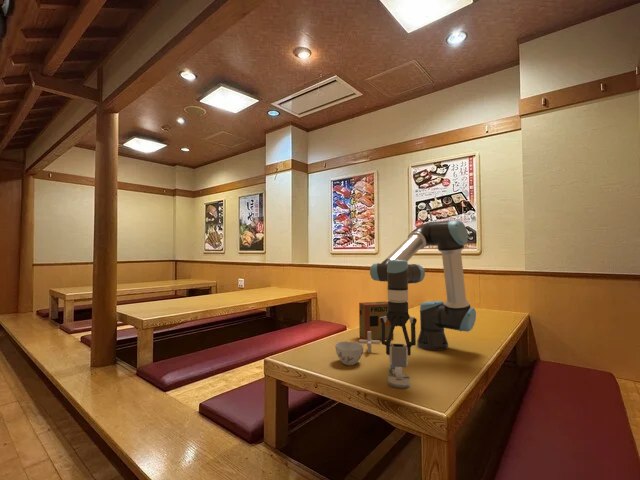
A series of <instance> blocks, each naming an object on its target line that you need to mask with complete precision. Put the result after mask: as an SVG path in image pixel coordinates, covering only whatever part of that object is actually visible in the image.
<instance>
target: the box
mask: <svg viewBox="0 0 640 480" xmlns="http://www.w3.org/2000/svg"><path fill="white" fill-rule="evenodd" d="M358 304H359V307H358V316H359V318H358V321H359V324H358V325H359V327H358V329H359V333H358V335H359V339H360V340H368V336H367V332H368V331H371V339H372V340H380V342H381V321H380V317H384V316H386V315H387V313H388V301H369V302H368V301H367V302H365V301H364V302H359V303H358ZM390 324H391V323H390V322H389V320H388V319H386V322H385V340H386V341H387V337H388V333H389V329H390ZM391 341H394V334H393V335H392V339H391Z"/></svg>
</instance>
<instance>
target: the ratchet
mask: <svg viewBox="0 0 640 480" xmlns="http://www.w3.org/2000/svg"><path fill="white" fill-rule="evenodd" d="M389 371H390V373H389V374H388V375H387V384H388V386H390V387H391V388H394V389H399V390H405V389H409V388H410V387H411V378H410V376H408V374H404V373H403V367H392V365H390V364H389Z"/></svg>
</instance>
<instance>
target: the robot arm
mask: <svg viewBox="0 0 640 480" xmlns="http://www.w3.org/2000/svg"><path fill="white" fill-rule="evenodd" d="M468 238H469V235H468V230H467V227H466V225H465V224H464V223H463V221H461V220H455V219H453V220H441V221H440V220H439V221H430V222H426V223H423V224H421V225H419V226H418V227H416V228H415V229H413V231H411V232H410V233H409V234H408V236H407V239H405V240H404V241H403V242H402V243H401V244H400V245H399V246H398V247H396V249H394V250H393V252H392V253H390V254H389V255H388V256H387V257H386V258H385V259H384V260H383V261H382V262H381V263H380V262H377V263H373V264H372V265H371V266H370V268H369V275H370V278H371V279H372V280H373V281H377V282H387V300H388V301H387V302H388V313H387V315H386V316H384V317H380V321H381V341H380V344H382V345H383V346H385V354H386V355H387V356H388V361H389V362H388V363H389V366H390V365H392V346H391V343H392V340H391V339H392V335H393V336H394V332H395V331H394V330H395V327H401V329H402V333H403V337H404V340H405V343H406V344H404V345H405V347H406V366H409V359H408V358H409V357H410V356H411V355H412V354H411V351H412V350H411V349H412V348H411V347H414V346H417V347H419V348H421V349H424V350H429V351H444V350H447V349H449V342H448V339H447V337H446V334H445V329H446V330H447V329H448V330H454V331H459V332H466V333H467V332H468V333H469V332H471V330H473V328H474V326H475V324H476V319H477V312H476V309H475V308H474V307H471V302H470V301H469V300H467V297H466V296H467V294H466V287H465V285H466V284H465V278H464V277H465V276H464V269H463V268H464V266H463V258H462V251H463V250H464V248H465V245H466V244H467V243H468V242H469V241H468ZM428 246H437V250H438V251H439V252H440V253H441V257H442V266H443V267H442V268H443V275H444V283H445V292H446V294H445V295H446V301H445V302H444V301H443V300H428V301H423V302H421V303H420V305H419V319H420V320H419V321H420V323H419V324H420V331H419V334H418V337H417V336H416V324H417V321H418V319H417V318H416V317H413V316H411V315H410V314H409V302H408V300H409V284H418V283H420V282H422V281H423V280H424V278H425V276H426V271H425V268H424V267H423V266H422V265H420V264H417V263H410V264H408V262H409V261H410V260H411V259H412V258H413V256H414V255H416V254H417V252H418V251H419V250H423V249H424V248H426V247H428ZM386 319H388V320H389V322H390V323H391V324H390V329H389V333H388V337H387V340H386V341H385V322H386ZM408 322H409V323H410V337H409V334H408V330H407V326H406V324H407V323H408ZM416 337H417V340H416Z"/></svg>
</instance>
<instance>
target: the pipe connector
mask: <svg viewBox="0 0 640 480" xmlns="http://www.w3.org/2000/svg"><path fill="white" fill-rule="evenodd" d="M367 336H368V340H362V339H358V343H359V344H364V345H365V344H366V346H367V353H368V354H371V353H372V345H380V344H381V341H380V340H372V339H371V331H368V332H367Z"/></svg>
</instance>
